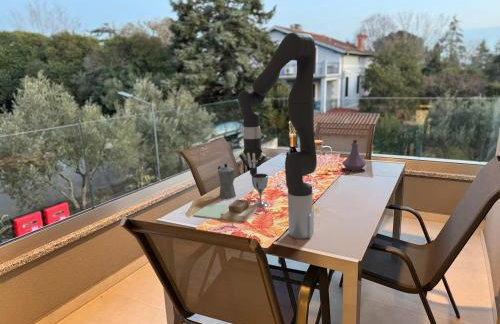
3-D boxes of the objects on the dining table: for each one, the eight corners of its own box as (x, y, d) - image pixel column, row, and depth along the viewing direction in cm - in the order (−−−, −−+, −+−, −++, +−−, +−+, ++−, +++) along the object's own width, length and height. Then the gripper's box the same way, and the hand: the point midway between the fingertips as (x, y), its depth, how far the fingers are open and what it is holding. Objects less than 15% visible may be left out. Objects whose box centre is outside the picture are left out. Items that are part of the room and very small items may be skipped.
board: (256, 210, 159) (256, 205, 159) (245, 221, 147) (245, 216, 146) (234, 207, 164) (233, 203, 163) (220, 218, 151) (220, 213, 151)
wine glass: (271, 203, 168) (270, 174, 165) (264, 208, 162) (262, 178, 158) (257, 200, 172) (256, 172, 169) (249, 205, 166) (248, 176, 162)
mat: (234, 207, 165) (234, 206, 165) (219, 219, 151) (219, 218, 150) (210, 204, 170) (209, 203, 170) (193, 216, 156) (193, 214, 156)
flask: (350, 165, 237) (351, 137, 232) (372, 168, 224) (373, 139, 220) (336, 169, 227) (337, 140, 222) (358, 173, 214) (359, 143, 210)
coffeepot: (241, 197, 179) (239, 164, 175) (226, 201, 174) (223, 167, 170) (227, 190, 192) (225, 159, 188) (212, 193, 187) (210, 162, 183)
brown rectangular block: (248, 206, 158) (248, 200, 157) (241, 213, 150) (240, 207, 149) (237, 205, 160) (236, 199, 159) (229, 212, 152) (228, 205, 151)
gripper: (234, 137, 143) (236, 176, 147) (263, 138, 138) (264, 178, 142) (241, 135, 150) (243, 172, 154) (269, 135, 145) (270, 174, 149)
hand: (253, 175), depth 148 cm, fingers closed
